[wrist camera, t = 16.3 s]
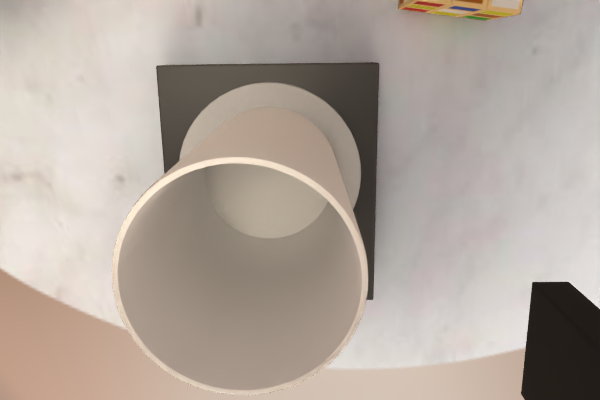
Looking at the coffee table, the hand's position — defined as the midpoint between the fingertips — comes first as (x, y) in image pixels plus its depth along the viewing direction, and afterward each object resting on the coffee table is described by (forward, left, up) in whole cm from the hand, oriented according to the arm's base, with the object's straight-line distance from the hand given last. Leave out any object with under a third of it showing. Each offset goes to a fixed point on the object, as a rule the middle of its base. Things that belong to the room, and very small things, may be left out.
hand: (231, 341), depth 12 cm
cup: (0, +1, -21) cm, 21 cm away
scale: (0, +2, -24) cm, 24 cm away
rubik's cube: (-11, -11, -25) cm, 29 cm away
